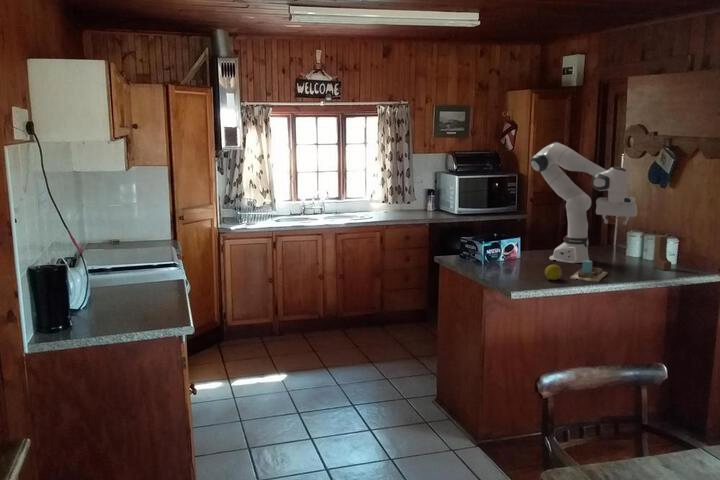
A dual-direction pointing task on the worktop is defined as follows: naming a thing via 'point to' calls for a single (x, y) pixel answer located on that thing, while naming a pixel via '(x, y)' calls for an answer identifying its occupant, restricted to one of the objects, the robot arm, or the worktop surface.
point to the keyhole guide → (590, 275)
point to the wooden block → (661, 253)
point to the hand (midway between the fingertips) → (615, 224)
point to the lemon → (553, 272)
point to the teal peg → (587, 267)
